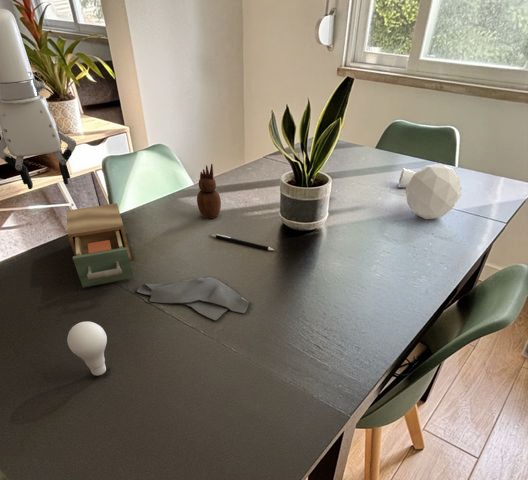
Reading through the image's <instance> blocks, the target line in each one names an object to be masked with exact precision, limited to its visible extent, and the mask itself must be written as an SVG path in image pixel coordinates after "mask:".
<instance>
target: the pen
mask: <svg viewBox="0 0 528 480" xmlns="http://www.w3.org/2000/svg"><path fill="white" fill-rule="evenodd" d="M211 237H213V238H215V239H219V240H223V241H227V242H231V243H235V244H239V245H243V246H248V247H252V248H256V249H260V250H264V251H275V249H274V248H272V247H270V246H266V245H262V244H258V243H254V242H249V241H246V240H242V239H236V238H233V237H231V236H227V235H223V234H219V233H215V234H211Z"/></svg>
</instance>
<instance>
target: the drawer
mask: <svg viewBox="0 0 528 480" xmlns="http://www.w3.org/2000/svg"><path fill="white" fill-rule="evenodd" d="M106 240H110V244H111V247H112V250H107V251H101V252H95V253H89V252H88V243H94V242H100V241H106ZM75 246H76V255H77V256H75V255H74V256H72V261H73V263H74V267H75V269H76V273H77V276H78V278H79V281H80V284H81V287H82V288H88V287H93V286H98V285H103V284H108V283H109V284H110V283H113V282H118V281H124V280H128V279H133V278H134V273H133V269H132V265H131V260H129V256H128V252H127V248H126V247H124V248H123V245H122V241H121V237H120V234H119V230H113V231H107V232H101V233H95V234H88V235H82V236H76V237H75Z"/></svg>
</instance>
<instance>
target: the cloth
mask: <svg viewBox="0 0 528 480" xmlns="http://www.w3.org/2000/svg"><path fill="white" fill-rule="evenodd" d="M136 292H137V293H138V294H141V295H146V296H150V298H149V301H148V302H150V303H159V304H180V305H185V306H188V307H191V308H192V309H193V310H194V311H195V312H197V313H198V314H200V315H202V316H203V317H206V318H208V319H210V320H213V321H218V320H219V318H221V317H222V315H224V314H225V313H226V312H227V311H228V310H230V311H231V312H234V313H240V314H246V312H247V310H248V309H249V308H248V307H249V304H250V302H249V301H248V300H247V299H245V298H244V297H243V296H241V295H240V294H239V293H237V292H236V291H235V290H234V289H232V288H230V286H228V285H227V284H225V283H224V282H221V280H219V279H217V278H215V277H212V276H207V277H199V276H198V277H193V278H189V279H178V280H177V279H175V280H171V281H166V282H161V283H143V284H141V285H140V286H139V287H138V288H137V289H136Z"/></svg>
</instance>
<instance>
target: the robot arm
mask: <svg viewBox="0 0 528 480" xmlns="http://www.w3.org/2000/svg"><path fill="white" fill-rule="evenodd" d="M46 89H47V88H46V85H45V82H44V81H39V80H37V79H36V78H35V76H34V73H33V70H32V67H31V64H30V60H29V57H28V54H27V51H26V47H25V44H24V40H23V38H22V34H21V31H20V29H19V25H18V22H17V19H16V17H15V15H14V14H13V13H12V11H10V10H9V9H6V8H1V7H0V129H1V132H2V135H3V136H2V137H1V139H0V160H2V161H4V162H5V163H7V164H8V165H10V166H12V167H13V168H15V170H16V171H18V174H19V175H20V178H21V180H22V184H23V185H27V188H28V190H32V189H33V186H34V183H33V180H32V178H31V175H30V172H29V170H28V169H29V168H28V167H27V166H26V165H25V164H24V157H31V156H32V157H33V156H40V155H48V154H52V155H53V156H54V157H55V158H56V160H57V161H58V168H59V171H60V175H61V177H62V180H63V183H64V185H69V180H70V179H71V175H70V171H69V169H68V164H67V163H68V161H69V160H70V158H71V157H72V154H73V152H74V150H75V149H76V147H77V141H76V140H75V139H73V138H71V137H70V136H68V135H67V134H66V133H64V132H62V131H61V130H60V129H58V126H57V123H56V120H55V118H54V114H53V113H52V110H51V107H50V105H49V103H48V101H47V99H46V97H45V95H40V93H41V92H43V91H46ZM62 142H63V143H65V144H66V145H67V146H66V148H65V149H64V151H63V152H62V151H61V150H62ZM6 147H7V150H8V152H9V153H7V152H6V151H5V149H6Z"/></svg>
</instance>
